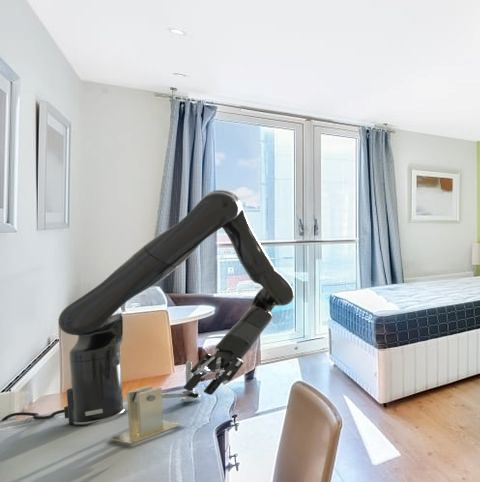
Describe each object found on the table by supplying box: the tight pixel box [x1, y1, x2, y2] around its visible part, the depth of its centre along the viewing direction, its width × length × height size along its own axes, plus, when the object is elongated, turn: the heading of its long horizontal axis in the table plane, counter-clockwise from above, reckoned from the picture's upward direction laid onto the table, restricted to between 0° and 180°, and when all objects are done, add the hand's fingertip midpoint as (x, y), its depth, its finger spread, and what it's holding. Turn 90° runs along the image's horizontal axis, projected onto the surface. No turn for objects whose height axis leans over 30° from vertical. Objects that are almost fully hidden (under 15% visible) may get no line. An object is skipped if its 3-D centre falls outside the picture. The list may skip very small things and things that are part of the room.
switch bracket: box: [110, 385, 182, 445], centre depth 108 cm, size 10×8×12 cm
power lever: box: [134, 390, 199, 402], centre depth 112 cm, size 12×5×2 cm, turn 161°
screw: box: [179, 360, 202, 404], centre depth 127 cm, size 13×5×5 cm
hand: (197, 391), depth 118 cm, fingers open, 8 cm apart
